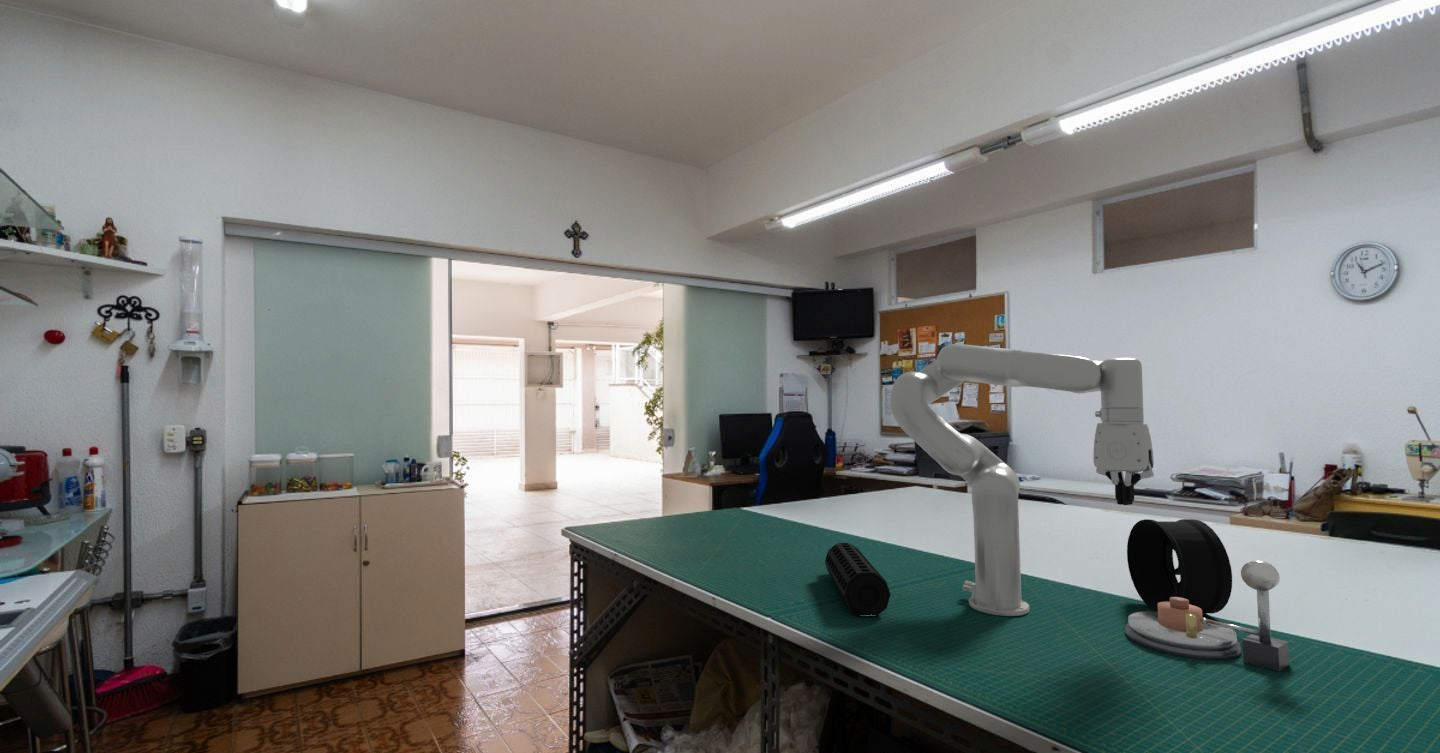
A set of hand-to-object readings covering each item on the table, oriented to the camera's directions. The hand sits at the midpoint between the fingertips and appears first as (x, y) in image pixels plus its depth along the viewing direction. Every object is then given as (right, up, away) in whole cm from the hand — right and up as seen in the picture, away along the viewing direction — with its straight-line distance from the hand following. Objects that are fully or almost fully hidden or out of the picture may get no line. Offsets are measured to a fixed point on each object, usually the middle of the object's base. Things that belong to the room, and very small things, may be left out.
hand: (1125, 504), depth 134 cm
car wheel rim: (+16, -25, +7) cm, 31 cm away
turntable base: (+4, -25, -10) cm, 27 cm away
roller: (-52, -27, +24) cm, 64 cm away
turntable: (+4, -23, -10) cm, 25 cm away
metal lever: (+10, -24, -18) cm, 32 cm away
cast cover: (+4, -22, -10) cm, 24 cm away
